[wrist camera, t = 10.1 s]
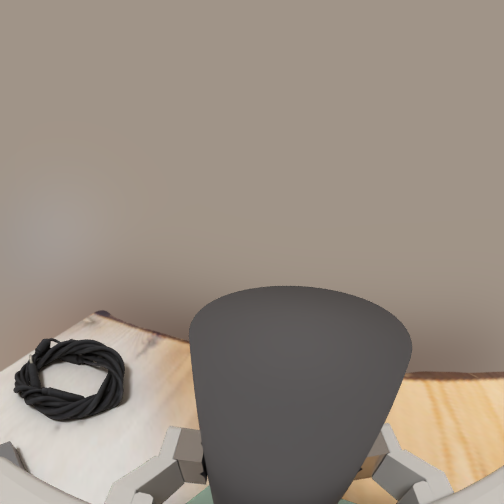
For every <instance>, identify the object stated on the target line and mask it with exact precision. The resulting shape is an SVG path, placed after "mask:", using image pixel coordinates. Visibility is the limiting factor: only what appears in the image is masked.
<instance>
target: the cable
mask: <svg viewBox="0 0 504 504" xmlns="http://www.w3.org/2000/svg"><path fill="white" fill-rule="evenodd" d="M50 341H54V342H56V343H58V344H57V345H55V346H53V347H52V348H50V343H51V342H50ZM35 351H36V352H35V354H34V355H32V356H31V355H30V359H29V361H28V363H26V364H25V365H24V366H23V367H22V368H21V370H20V371H18V372H17V373H16V374H15V380H16V382H15V388H14V392H15V393H18V392H19V391H21V392H22V394H21V397H22V398H24V400H25V403H26V404H27V405H32V404H33V406H34V407H35V408H36V409H37V410H38V411H40V412H41V413H44V414H45V415H46V416H47V417H49V418H51V419H55V420H63V419H67V418H73V419H78V418H82V417H85V416H90V415H94V414H97V413H99V412H101V411H104V410H106V409H108V408H113V407H115V406H117V405H118V404H119V403H120V401H121V399H122V396H123V377H124V373H125V366H124V362H123V360H122V358H121V356H120V355H119V354H118V352H116V351H115V350H114V349H112V348H110V347H107V346H105V345H104V344H102V343H100V342H98V341H95V340H88V339H87V340H73V339H70V340H69V341H64V342H60V341H58V340H56V339H53V338H50V339H43V340H42V341H41V343H40V344H39V345H38V346H37V348H36V349H35ZM56 358H58V359H61V360H62V361H66V362H69V363H73V364H77V365H80V364H83V363H86V364H89V365H93V366H101V367H105V368H106V369H108V374H107V376H106V378H105V380H104V382H103V383H102V385H101V387H100V389H99V391H98V393H97V394H95V395H92V396H89V397H86V398H84V396H81V395H77V394H73V393H69V392H65V391H61V390H58V389H54V388H51V387H50V388H45V387H43V388H42V389H41V385H40V380H39V377H38V371H39V369H40V368H41V367H42V366H44V365H46V364H48V363H50V362H52V361H53V360H55V359H56ZM93 361H95V362H97V363H93ZM29 381H30V385H31V386H29Z"/></svg>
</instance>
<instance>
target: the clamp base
mask: <svg viewBox="0 0 504 504" xmlns="http://www.w3.org/2000/svg"><path fill="white" fill-rule="evenodd" d="M0 457H4V458H6V459H8V460H9V461H11V462H12V463H14V464H15V465H17V466H19V467H20V468H22V469H23V470H25V469H24V467H23V464H22V462H21V460H20V457H19V455H18V453H17V450H16V449H15V447H14V446H13V445H12V443H11V442H10V441H9V442H7V443H4V444H1V445H0Z"/></svg>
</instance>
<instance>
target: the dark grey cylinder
mask: <svg viewBox="0 0 504 504" xmlns="http://www.w3.org/2000/svg"><path fill="white" fill-rule="evenodd" d="M189 342H190V353H191V363H192V372H193V381H194V390H195V398H196V406H197V413H198V420H199V427H200V433H201V440H202V446H203V452H204V458H205V463H206V469H207V474H208V480H209V485H210V490H211V494H212V499H213V504H338V502H339V501H340V500H341V498H342V497H343V495H344V494H345V492H346V491H347V489H348V488H349V486H350V484H351V483H352V481H353V480H354V478H355V476H356V475H357V473H358V471H359V470H360V468H361V466H362V465H363V463H364V461H365V459H366V458H367V456H368V454H369V452H370V450H371V448H372V446H373V445H374V443H375V441H376V439H377V437H378V435H379V433H380V431H381V429H382V427H383V425H384V422H385V420H386V418H387V416H388V414H389V412H390V409H391V407H392V405H393V402H394V400H395V398H396V395H397V393H398V390H399V388H400V385H401V383H402V380H403V378H404V375H405V372H406V369H407V367H408V364H409V361H410V358H411V353H412V342H411V339H410V335H409V333H408V332H407V329H406V328H405V327H404V325H403V324H402V323H401V322H400V321H399V320H398V319H397V318H396V317H395V316H394V315H392V314H391V313H390V312H388V311H387V310H385V309H384V308H382V307H380V306H378V305H376V304H374V303H372V302H370V301H367V300H365V299H362V298H359V297H356V296H353V295H349V294H346V293H342V292H338V291H333V290H328V289H322V288H313V287H302V286H270V287H260V288H254V289H248V290H243V291H238V292H235V293H231V294H228V295H225V296H223V297H220V298H218V299H216V300H214V301H212V302H211V303H209V304H207V305H206V306H205V307H203V308H202V309H201V310H200V311H199V312H198V313H197V314H196V315H195V317H194V319H193V320H192V322H191V325H190V329H189Z"/></svg>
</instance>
